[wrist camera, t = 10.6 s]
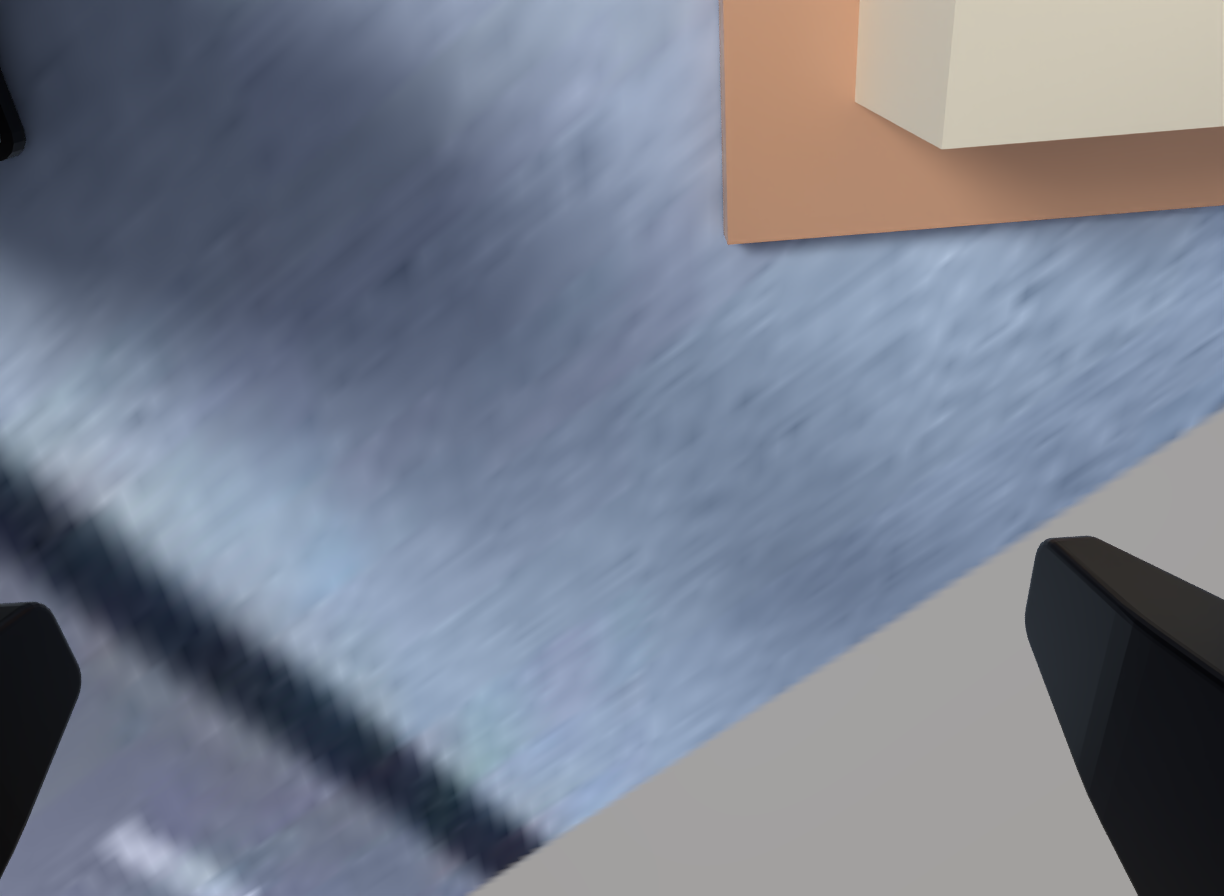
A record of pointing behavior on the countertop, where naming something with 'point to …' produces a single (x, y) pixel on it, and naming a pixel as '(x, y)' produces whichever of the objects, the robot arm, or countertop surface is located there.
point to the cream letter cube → (1040, 68)
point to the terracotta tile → (906, 147)
